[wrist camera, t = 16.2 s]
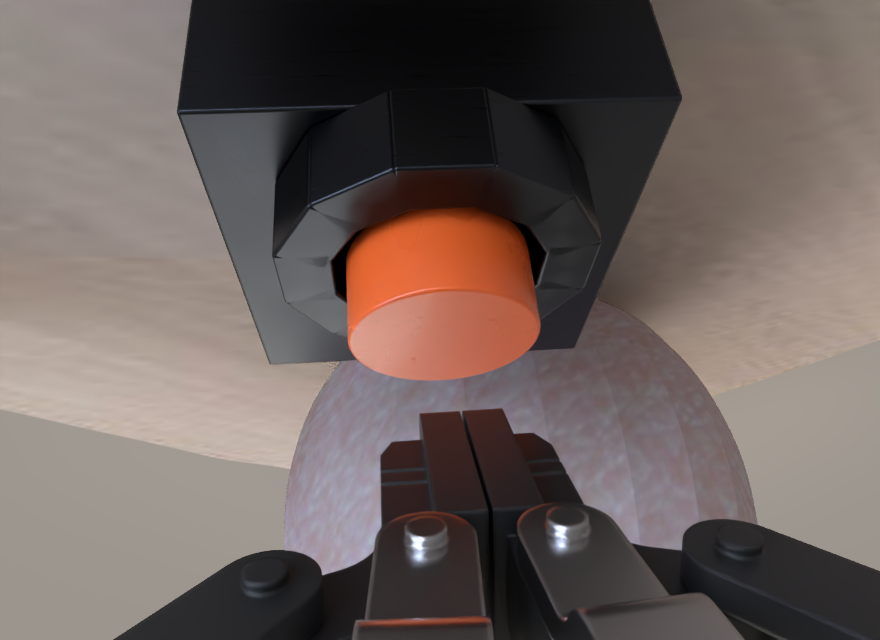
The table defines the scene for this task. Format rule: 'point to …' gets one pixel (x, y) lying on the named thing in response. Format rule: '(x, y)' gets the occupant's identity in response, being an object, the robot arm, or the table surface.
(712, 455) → the plant pot
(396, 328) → the orange push button
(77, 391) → the table surface
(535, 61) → the button housing
